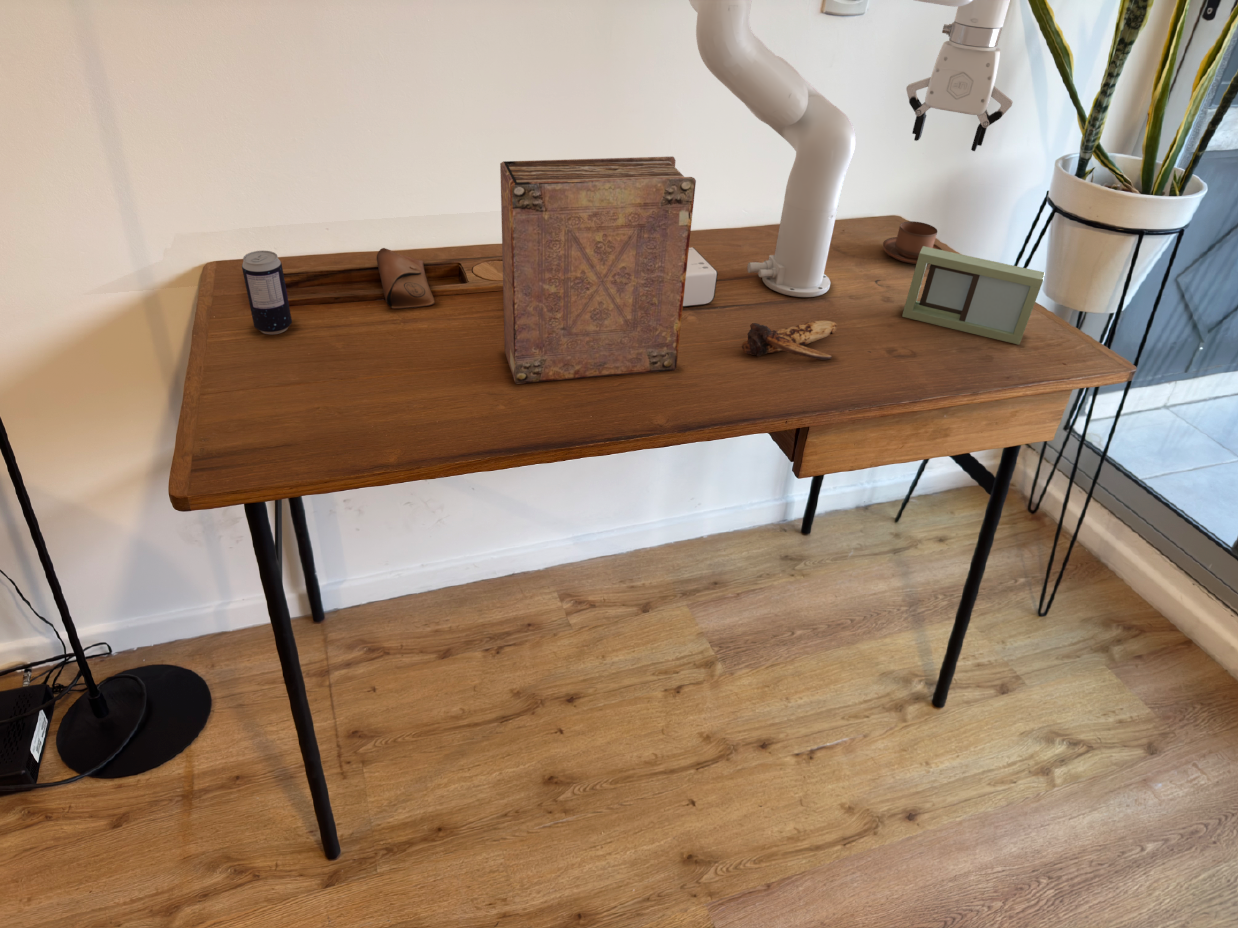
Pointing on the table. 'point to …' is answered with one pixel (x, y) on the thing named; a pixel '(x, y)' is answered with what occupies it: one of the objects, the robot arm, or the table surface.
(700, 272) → the laminator
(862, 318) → the table surface
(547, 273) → the book
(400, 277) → the sunglasses case
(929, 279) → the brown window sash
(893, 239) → the cup and saucer
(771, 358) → the table surface
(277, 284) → the beverage can
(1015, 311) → the window frame
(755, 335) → the bone fish hook
